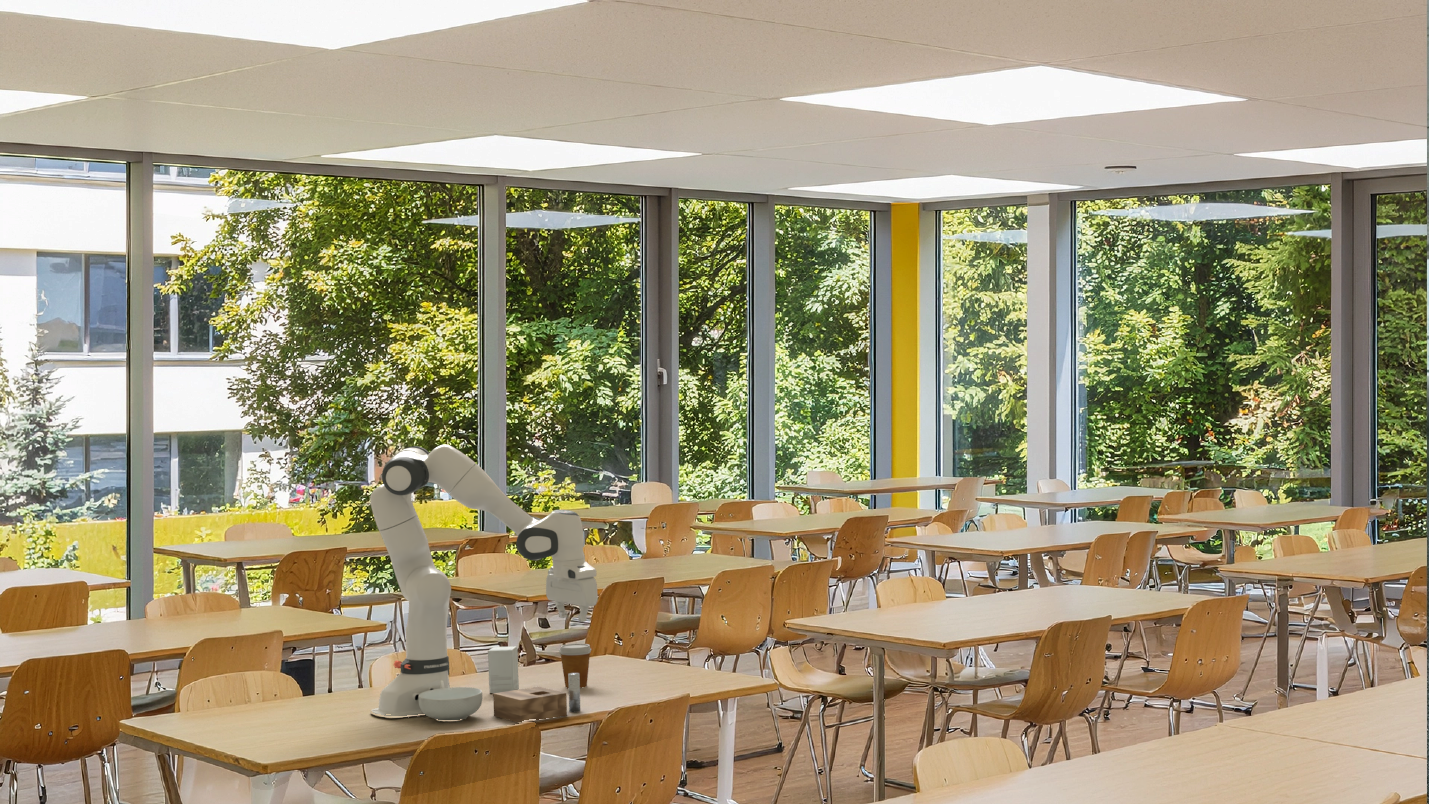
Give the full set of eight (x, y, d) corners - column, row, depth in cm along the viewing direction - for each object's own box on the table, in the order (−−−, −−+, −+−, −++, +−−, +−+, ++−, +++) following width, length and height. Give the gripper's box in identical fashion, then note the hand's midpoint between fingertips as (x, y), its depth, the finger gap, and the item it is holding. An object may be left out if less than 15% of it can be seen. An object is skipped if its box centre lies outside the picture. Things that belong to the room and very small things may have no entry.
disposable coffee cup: (590, 689, 431) (589, 647, 431) (557, 690, 431) (556, 648, 431) (593, 683, 440) (592, 643, 440) (562, 684, 440) (560, 643, 440)
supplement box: (519, 689, 434) (518, 645, 434) (513, 693, 427) (512, 649, 427) (494, 689, 435) (493, 646, 435) (488, 694, 427) (487, 650, 428)
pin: (573, 712, 395) (572, 675, 395) (567, 711, 398) (566, 673, 398) (582, 711, 397) (581, 673, 397) (576, 709, 399) (575, 672, 400)
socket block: (520, 723, 382) (520, 700, 383) (493, 716, 393) (493, 693, 394) (567, 715, 391) (566, 693, 391) (539, 708, 402) (538, 686, 402)
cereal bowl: (414, 716, 396) (413, 690, 396) (475, 710, 402) (475, 684, 402) (424, 728, 380) (424, 700, 380) (489, 721, 386) (488, 694, 386)
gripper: (538, 567, 409) (542, 617, 410) (580, 574, 394) (584, 625, 394) (557, 564, 413) (561, 613, 414) (600, 570, 398) (603, 621, 398)
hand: (572, 619), depth 404 cm, fingers open, 8 cm apart
